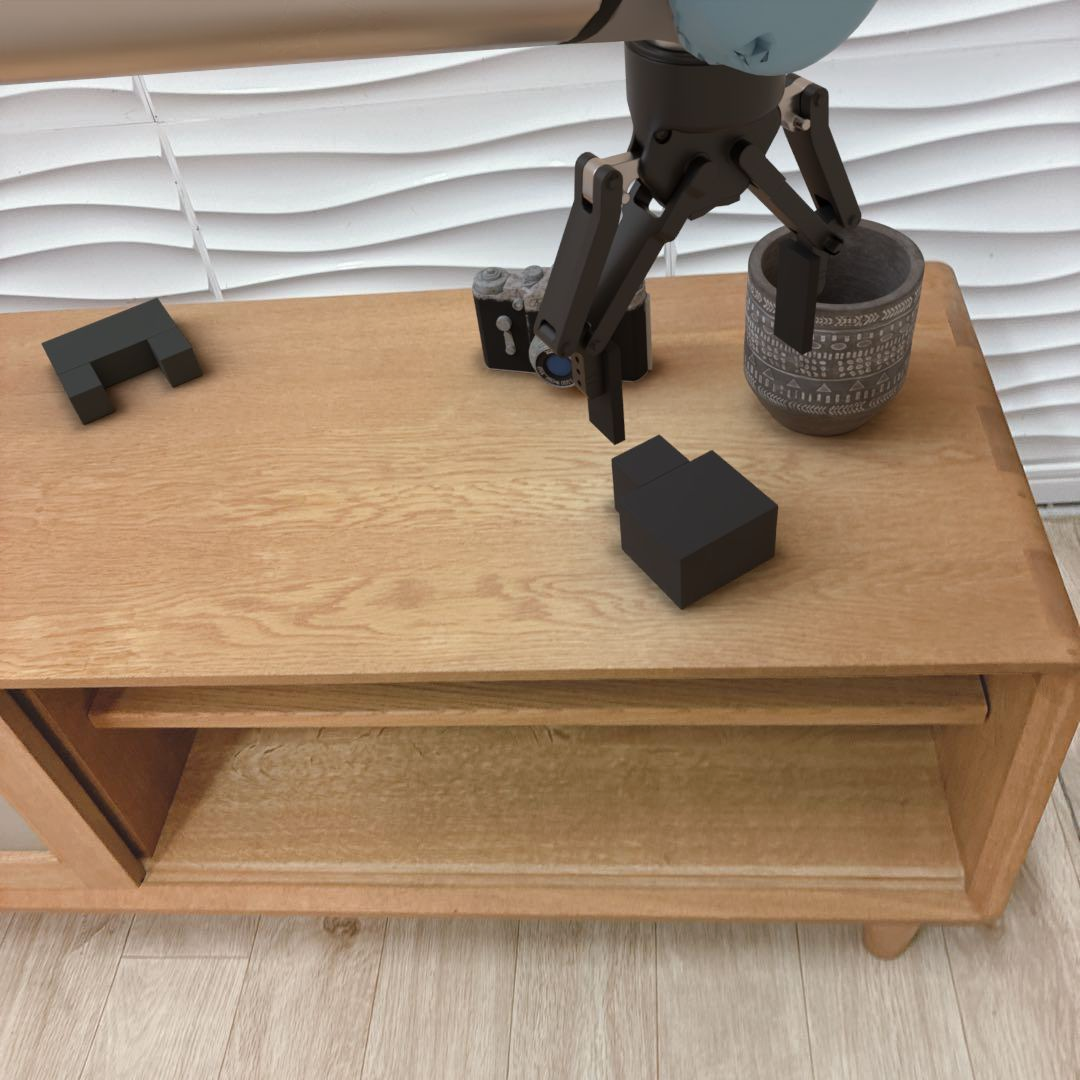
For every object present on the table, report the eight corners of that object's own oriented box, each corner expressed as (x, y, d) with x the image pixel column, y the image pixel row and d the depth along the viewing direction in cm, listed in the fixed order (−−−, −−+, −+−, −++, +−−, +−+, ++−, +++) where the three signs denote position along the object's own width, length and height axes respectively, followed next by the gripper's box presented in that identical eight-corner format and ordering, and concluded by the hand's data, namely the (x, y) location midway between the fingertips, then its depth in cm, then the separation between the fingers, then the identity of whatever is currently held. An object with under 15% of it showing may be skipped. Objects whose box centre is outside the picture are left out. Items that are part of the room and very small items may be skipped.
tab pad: (681, 610, 72) (680, 559, 68) (593, 520, 78) (588, 470, 75) (774, 556, 74) (778, 505, 71) (681, 473, 81) (680, 422, 77)
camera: (467, 391, 90) (447, 290, 83) (490, 343, 95) (474, 242, 88) (640, 408, 87) (635, 303, 79) (656, 357, 91) (653, 253, 84)
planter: (847, 338, 90) (864, 199, 81) (932, 424, 82) (962, 279, 73) (715, 381, 88) (717, 242, 79) (789, 472, 80) (801, 330, 71)
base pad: (83, 425, 93) (68, 398, 90) (55, 369, 99) (40, 343, 97) (203, 374, 96) (192, 347, 94) (168, 323, 102) (157, 297, 100)
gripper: (859, -74, 55) (823, 282, 70) (426, 75, 48) (491, 435, 63) (970, -37, 50) (906, 336, 66) (508, 134, 43) (557, 508, 58)
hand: (702, 385), depth 64 cm, fingers open, 13 cm apart
